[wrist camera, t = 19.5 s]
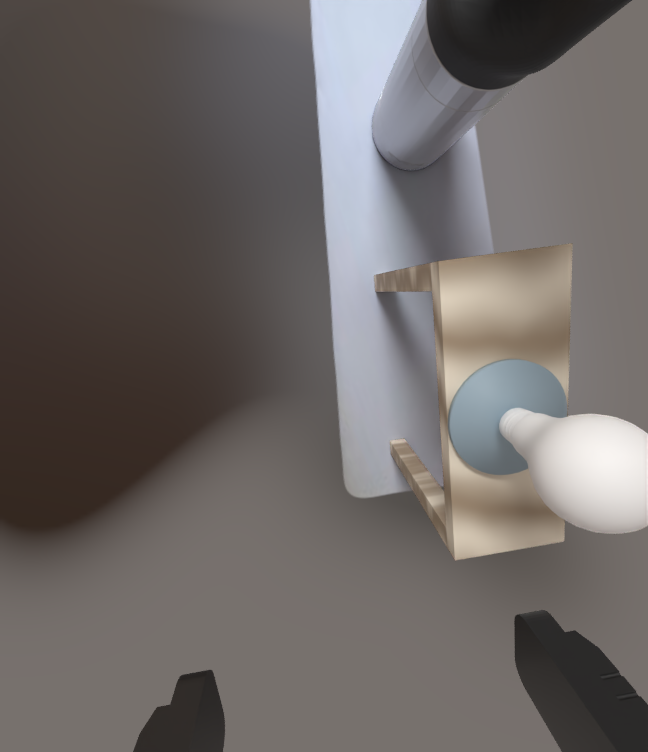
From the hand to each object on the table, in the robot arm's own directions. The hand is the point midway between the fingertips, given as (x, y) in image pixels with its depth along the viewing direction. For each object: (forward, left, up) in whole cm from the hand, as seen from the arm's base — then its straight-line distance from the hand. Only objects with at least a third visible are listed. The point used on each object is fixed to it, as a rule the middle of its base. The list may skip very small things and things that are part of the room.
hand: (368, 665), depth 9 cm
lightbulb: (-4, +14, -17) cm, 22 cm away
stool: (-4, +14, -38) cm, 41 cm away
